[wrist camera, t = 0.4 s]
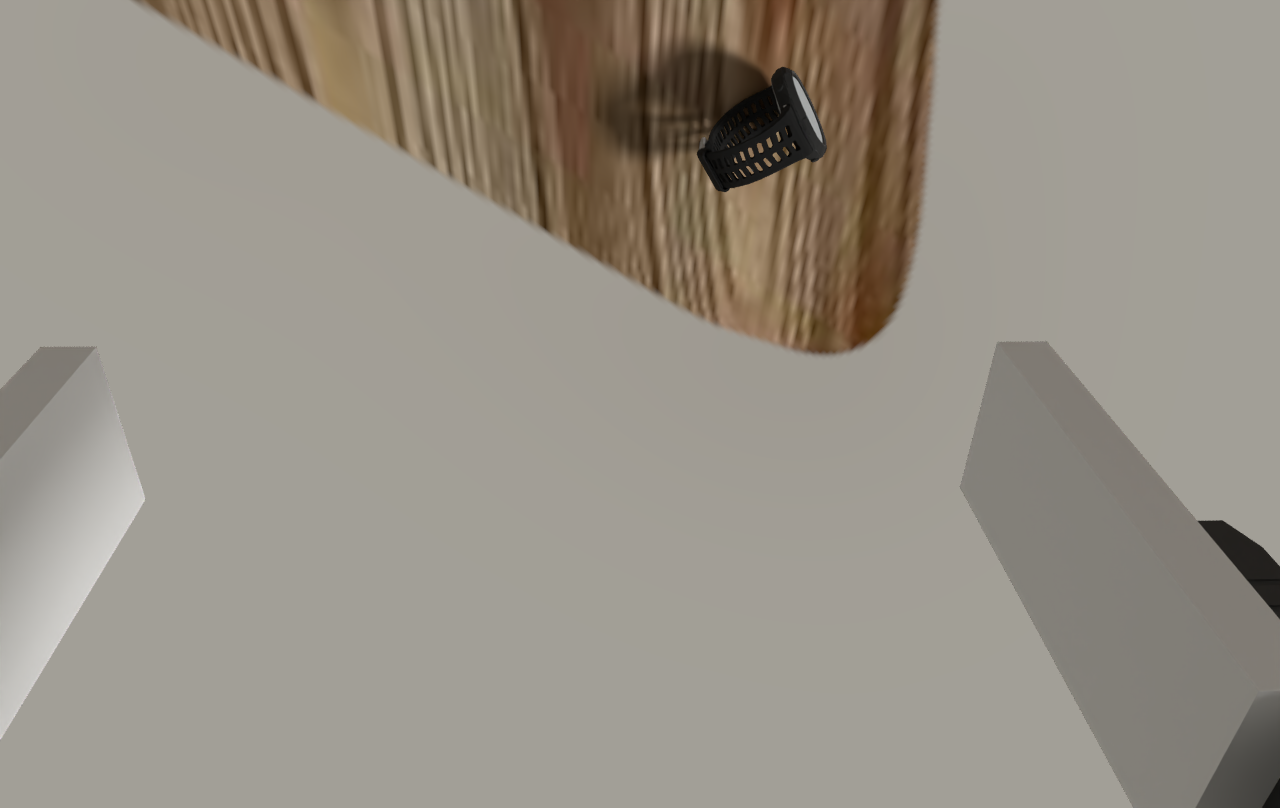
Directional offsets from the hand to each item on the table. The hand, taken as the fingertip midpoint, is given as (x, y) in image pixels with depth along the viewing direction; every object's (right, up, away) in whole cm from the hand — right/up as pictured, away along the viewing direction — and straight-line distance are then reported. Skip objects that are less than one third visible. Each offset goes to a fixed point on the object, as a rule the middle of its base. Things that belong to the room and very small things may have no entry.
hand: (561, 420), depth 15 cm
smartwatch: (+6, +12, +25) cm, 29 cm away
